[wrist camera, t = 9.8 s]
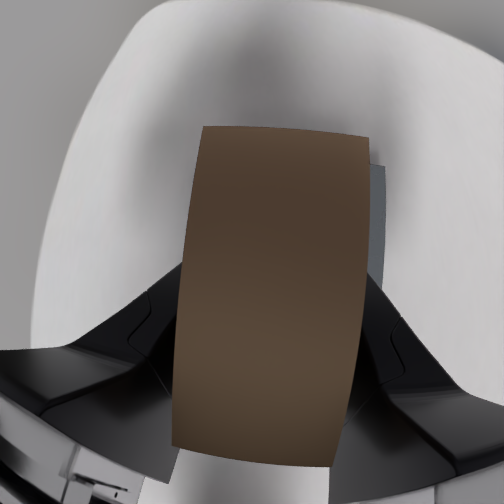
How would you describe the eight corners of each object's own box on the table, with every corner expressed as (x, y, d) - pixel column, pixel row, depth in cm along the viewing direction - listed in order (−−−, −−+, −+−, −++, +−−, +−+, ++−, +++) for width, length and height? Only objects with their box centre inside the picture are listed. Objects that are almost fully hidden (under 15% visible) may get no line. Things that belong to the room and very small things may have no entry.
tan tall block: (302, 348, 15) (331, 471, 4) (246, 342, 15) (171, 449, 4) (313, 234, 16) (368, 137, 5) (257, 229, 16) (203, 126, 5)
